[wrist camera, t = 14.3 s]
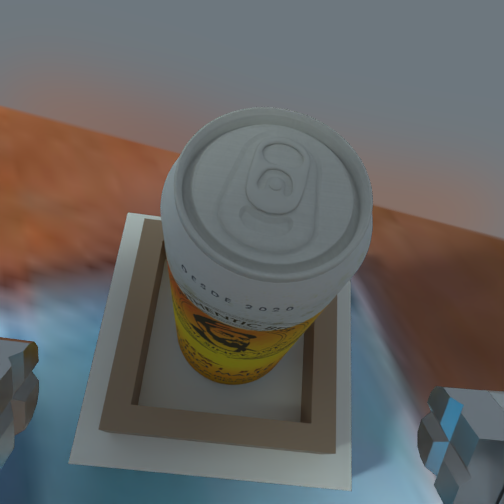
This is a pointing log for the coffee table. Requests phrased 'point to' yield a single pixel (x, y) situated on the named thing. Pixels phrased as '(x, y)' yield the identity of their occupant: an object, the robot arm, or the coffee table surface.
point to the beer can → (260, 236)
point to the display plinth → (210, 390)
